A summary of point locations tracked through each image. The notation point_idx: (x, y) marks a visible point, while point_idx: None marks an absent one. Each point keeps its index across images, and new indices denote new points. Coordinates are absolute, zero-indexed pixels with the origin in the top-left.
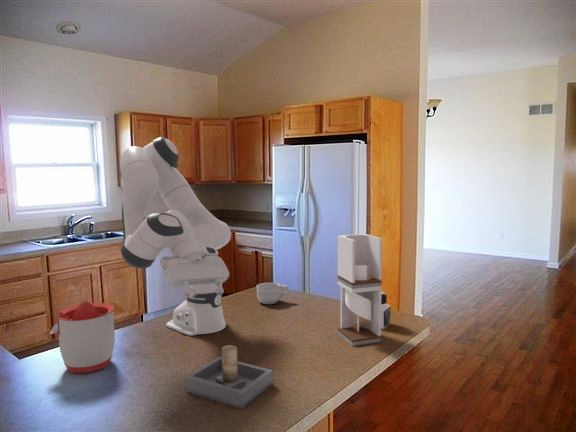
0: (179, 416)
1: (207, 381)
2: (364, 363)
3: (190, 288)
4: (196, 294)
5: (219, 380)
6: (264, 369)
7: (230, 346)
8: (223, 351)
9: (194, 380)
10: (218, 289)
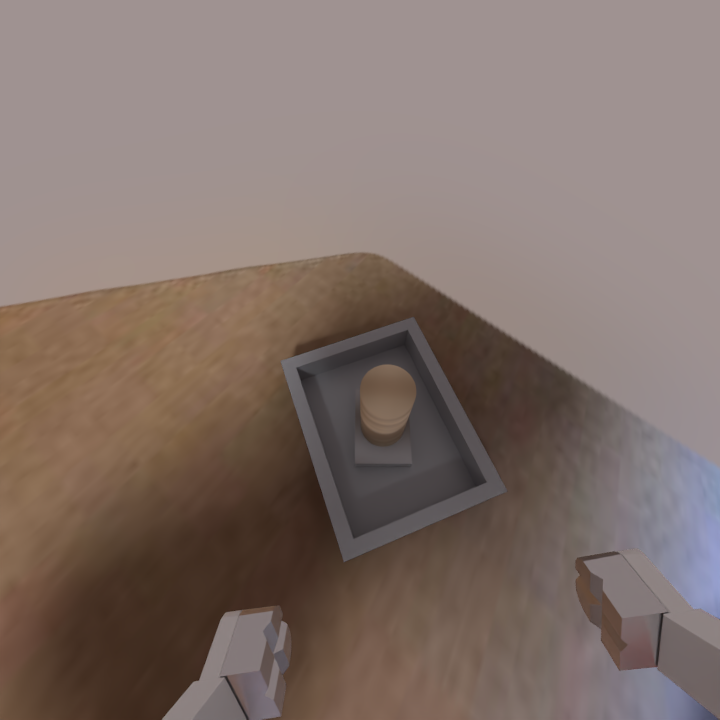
0: (540, 397)
1: (460, 420)
2: (48, 316)
3: (702, 616)
4: (582, 557)
5: (410, 440)
6: (293, 377)
7: (376, 400)
8: (415, 387)
9: (487, 457)
10: (268, 644)
